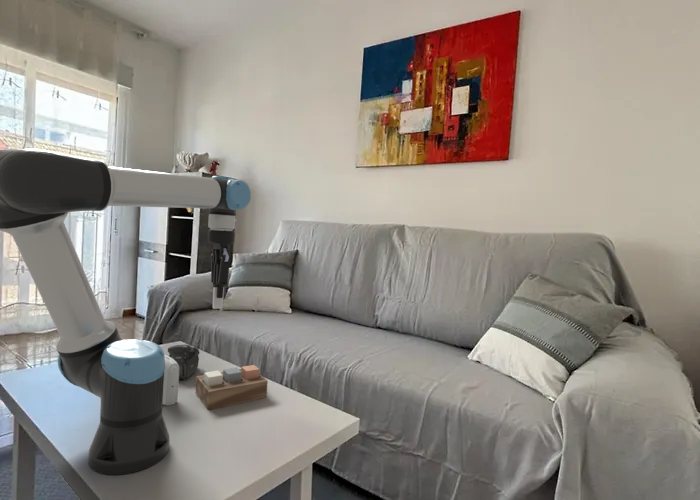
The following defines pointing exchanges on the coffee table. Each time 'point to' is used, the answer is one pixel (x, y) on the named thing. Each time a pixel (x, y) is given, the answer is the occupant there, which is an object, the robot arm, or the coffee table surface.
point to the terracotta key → (250, 372)
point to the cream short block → (213, 378)
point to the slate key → (231, 375)
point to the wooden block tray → (230, 391)
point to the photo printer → (170, 381)
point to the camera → (185, 359)
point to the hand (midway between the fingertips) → (217, 307)
